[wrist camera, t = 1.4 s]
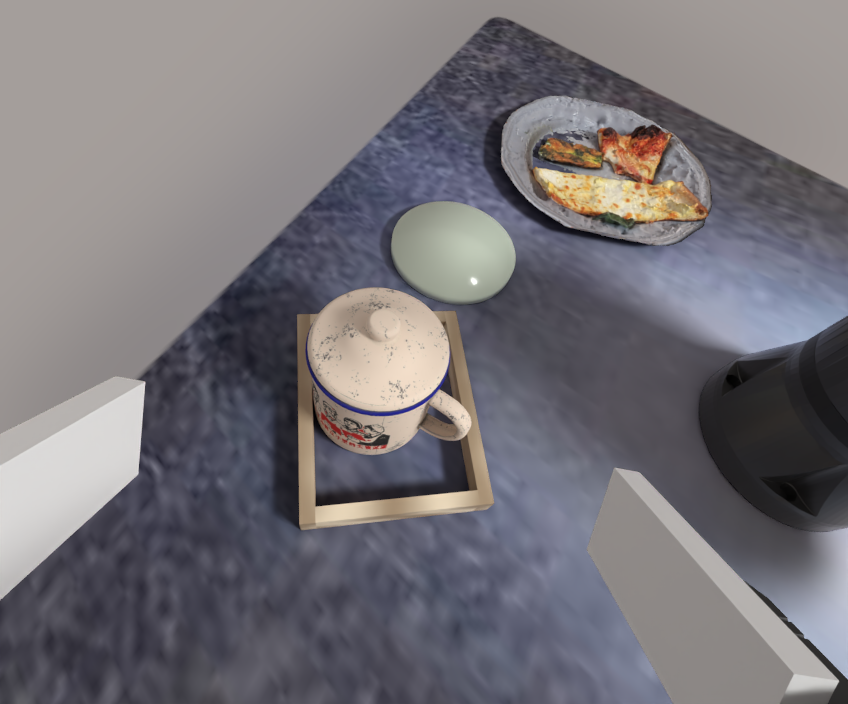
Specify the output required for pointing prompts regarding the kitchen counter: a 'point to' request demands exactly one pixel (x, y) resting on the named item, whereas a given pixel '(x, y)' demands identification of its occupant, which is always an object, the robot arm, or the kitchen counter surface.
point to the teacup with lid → (380, 371)
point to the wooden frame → (399, 507)
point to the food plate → (607, 171)
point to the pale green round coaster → (452, 252)
